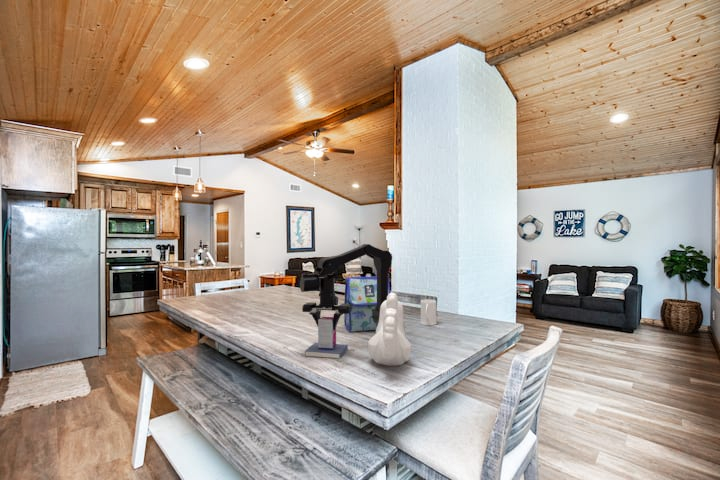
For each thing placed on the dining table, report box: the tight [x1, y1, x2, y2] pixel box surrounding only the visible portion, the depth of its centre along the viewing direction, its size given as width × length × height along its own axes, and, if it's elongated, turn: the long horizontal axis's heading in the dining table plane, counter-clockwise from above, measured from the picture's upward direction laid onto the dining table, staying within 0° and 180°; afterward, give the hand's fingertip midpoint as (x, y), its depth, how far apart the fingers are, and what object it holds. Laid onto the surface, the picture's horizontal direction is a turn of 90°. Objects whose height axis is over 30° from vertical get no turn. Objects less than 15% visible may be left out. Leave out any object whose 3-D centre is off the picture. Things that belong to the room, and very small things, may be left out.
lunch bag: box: [343, 276, 392, 333], centre depth 173 cm, size 22×17×26 cm
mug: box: [419, 299, 437, 326], centre depth 182 cm, size 12×8×12 cm
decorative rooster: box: [367, 292, 412, 367], centre depth 122 cm, size 25×16×25 cm, turn 161°
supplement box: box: [317, 316, 337, 349], centre depth 136 cm, size 6×6×12 cm
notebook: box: [304, 342, 349, 360], centre depth 136 cm, size 14×11×2 cm
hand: (327, 329), depth 136 cm, fingers closed on supplement box, 6 cm apart
